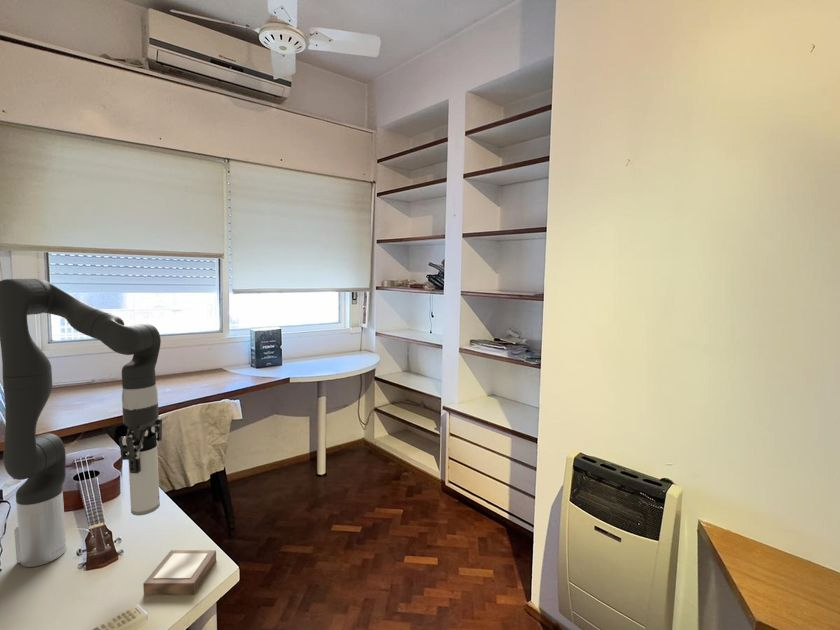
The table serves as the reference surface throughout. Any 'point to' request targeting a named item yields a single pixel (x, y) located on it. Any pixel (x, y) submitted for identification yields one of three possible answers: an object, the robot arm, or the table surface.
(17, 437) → the robot arm
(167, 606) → the table surface
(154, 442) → the travel mug
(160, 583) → the plinth
